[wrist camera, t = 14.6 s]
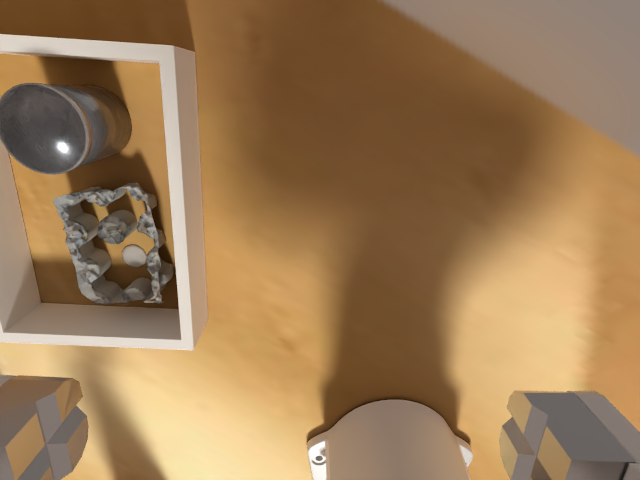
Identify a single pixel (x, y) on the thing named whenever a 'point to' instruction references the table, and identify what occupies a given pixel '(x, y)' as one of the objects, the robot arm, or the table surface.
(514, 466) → the robot arm
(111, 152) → the metal tin
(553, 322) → the table surface
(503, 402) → the table surface
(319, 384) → the table surface
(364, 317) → the table surface
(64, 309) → the tote
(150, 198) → the egg carton
